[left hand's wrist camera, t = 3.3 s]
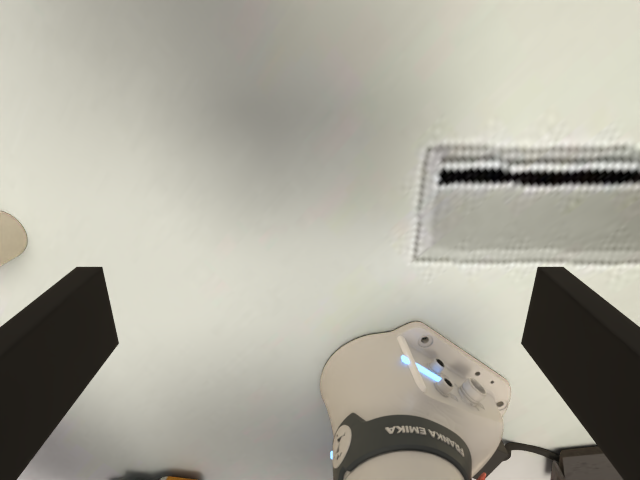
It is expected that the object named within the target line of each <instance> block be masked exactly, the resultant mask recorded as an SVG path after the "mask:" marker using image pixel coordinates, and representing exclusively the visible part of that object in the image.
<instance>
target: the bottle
mask: <svg viewBox="0 0 640 480" xmlns="http://www.w3.org/2000/svg"><path fill="white" fill-rule="evenodd" d="M26 245H27V235H26V232H25V230H24V228H23V226H22V225H21V224H20V223H19V222H18V220H16V219H15V218H14V217H13V216H11V215H9V214H7V213H5V212H2V211H0V266H2V265H3V264H5V263H7V262H8V261H10V260H12V259H14V258H15V257H17V256H19V255H20V254H21V253H22V252H23V251H24V250H25V248H26Z"/></svg>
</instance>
